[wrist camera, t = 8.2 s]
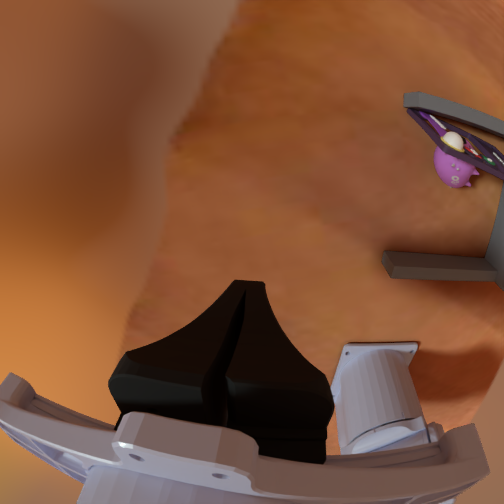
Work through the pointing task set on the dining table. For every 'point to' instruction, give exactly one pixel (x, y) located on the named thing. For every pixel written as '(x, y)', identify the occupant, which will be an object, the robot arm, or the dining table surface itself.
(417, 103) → the frame
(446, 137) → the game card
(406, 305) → the dining table surface
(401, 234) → the dining table surface
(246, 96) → the dining table surface
